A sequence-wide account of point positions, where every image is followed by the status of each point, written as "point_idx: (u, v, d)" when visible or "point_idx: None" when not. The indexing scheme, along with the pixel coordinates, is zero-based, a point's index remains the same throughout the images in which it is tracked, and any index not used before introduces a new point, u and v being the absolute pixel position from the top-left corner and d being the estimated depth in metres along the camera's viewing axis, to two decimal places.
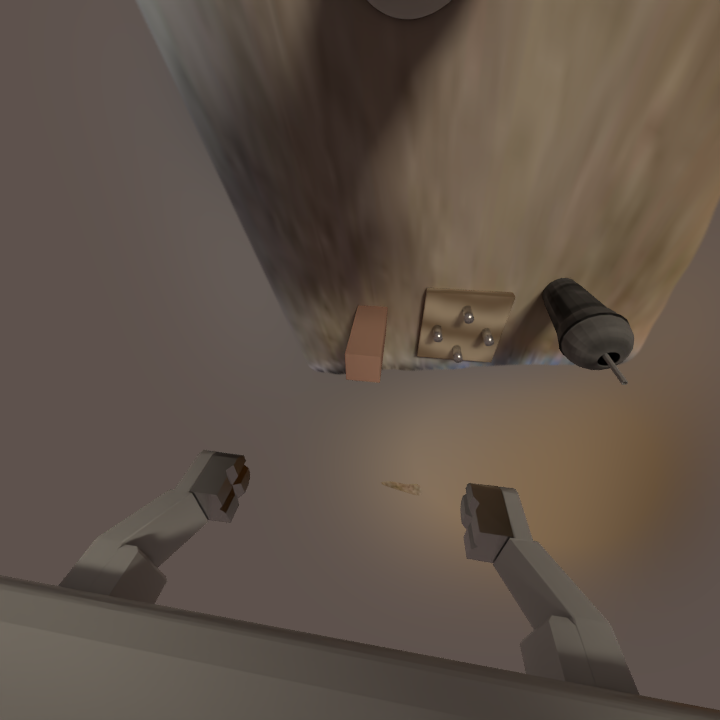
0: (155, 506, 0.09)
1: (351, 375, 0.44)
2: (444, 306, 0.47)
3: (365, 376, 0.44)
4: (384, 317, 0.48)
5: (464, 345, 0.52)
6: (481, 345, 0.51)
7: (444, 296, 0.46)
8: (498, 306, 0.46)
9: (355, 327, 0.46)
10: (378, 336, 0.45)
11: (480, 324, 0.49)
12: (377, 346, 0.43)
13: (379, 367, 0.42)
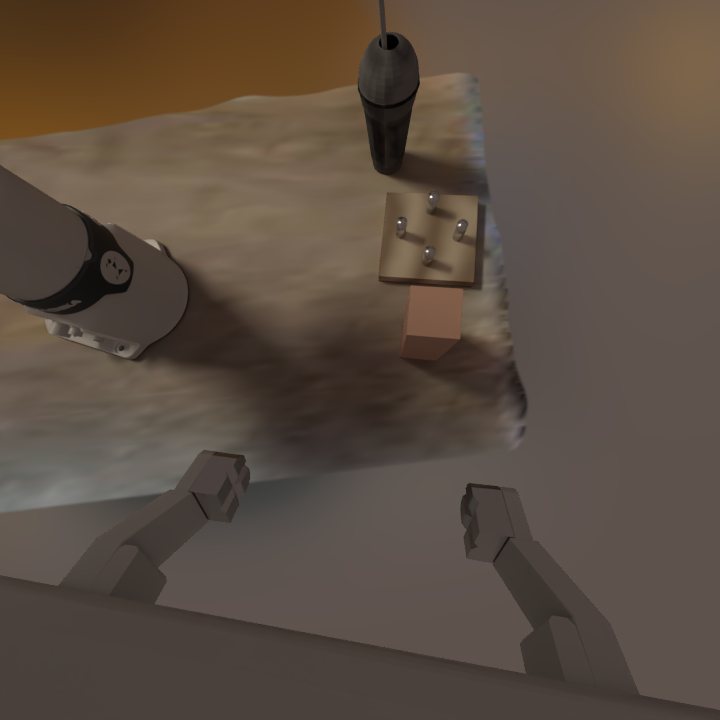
0: (155, 506, 0.09)
1: (450, 330, 0.28)
2: (397, 256, 0.42)
3: (451, 309, 0.29)
4: (404, 317, 0.39)
5: (452, 228, 0.42)
6: (451, 211, 0.43)
7: (384, 257, 0.42)
8: (397, 205, 0.44)
9: None
10: None
11: (421, 216, 0.43)
12: (408, 300, 0.32)
13: (431, 288, 0.29)
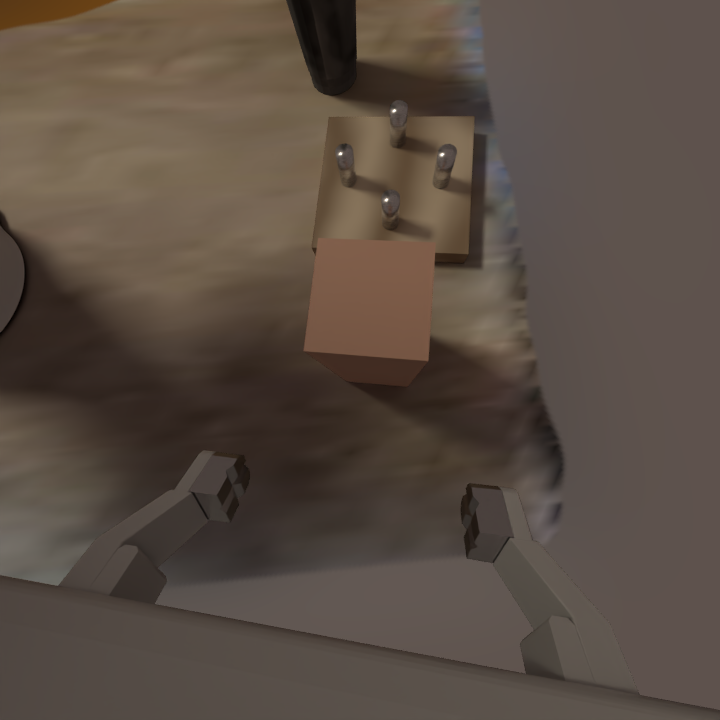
0: (155, 506, 0.09)
1: (405, 339, 0.12)
2: (342, 216, 0.26)
3: (407, 289, 0.12)
4: None
5: (432, 168, 0.26)
6: (431, 141, 0.26)
7: (321, 218, 0.26)
8: (345, 135, 0.27)
9: None
10: None
11: (382, 152, 0.27)
12: None
13: (363, 242, 0.13)
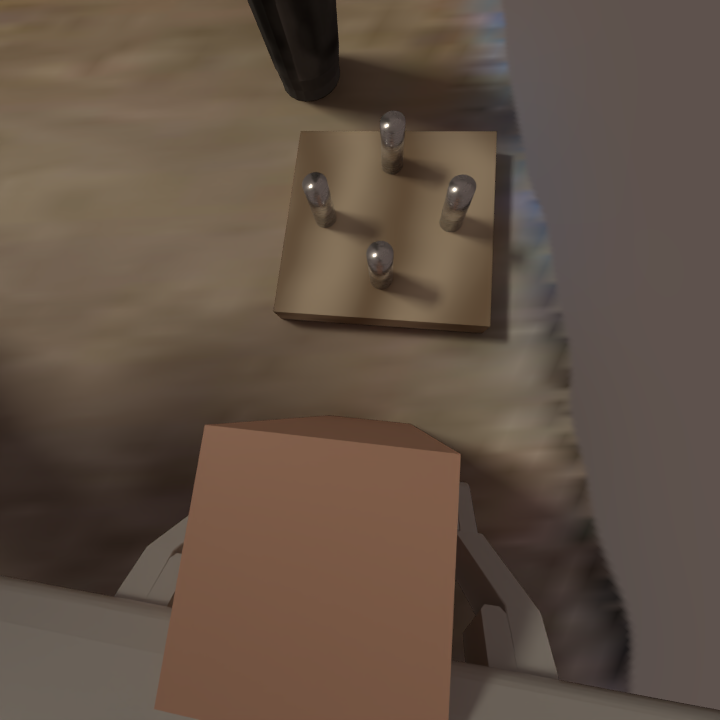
0: None
1: (389, 711, 0.05)
2: (316, 267, 0.19)
3: (395, 572, 0.05)
4: None
5: (439, 203, 0.19)
6: (437, 165, 0.19)
7: (288, 270, 0.19)
8: (321, 156, 0.20)
9: None
10: None
11: (371, 179, 0.20)
12: None
13: (300, 443, 0.06)
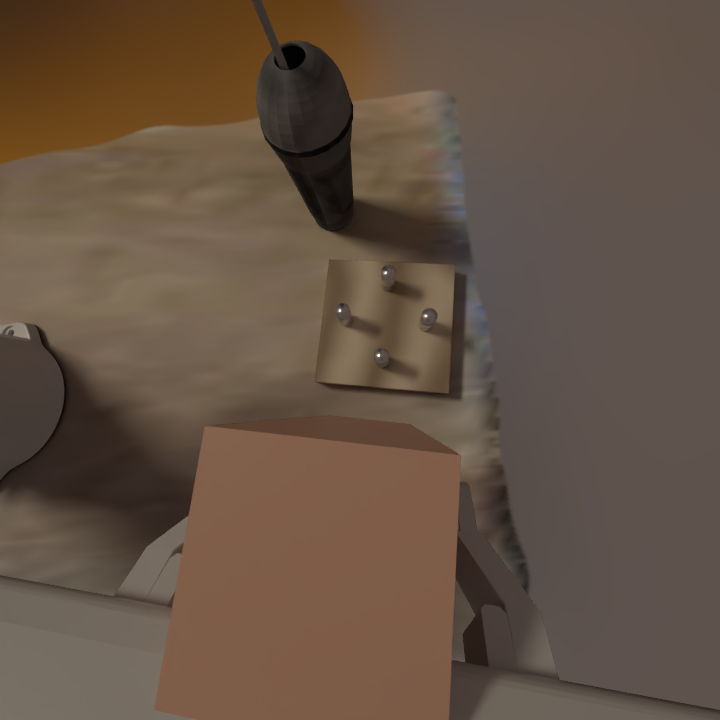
0: None
1: (389, 713, 0.05)
2: (341, 353, 0.30)
3: (396, 574, 0.05)
4: None
5: (418, 312, 0.30)
6: (417, 286, 0.30)
7: (323, 354, 0.30)
8: (343, 277, 0.31)
9: None
10: None
11: (375, 294, 0.31)
12: None
13: (299, 444, 0.06)
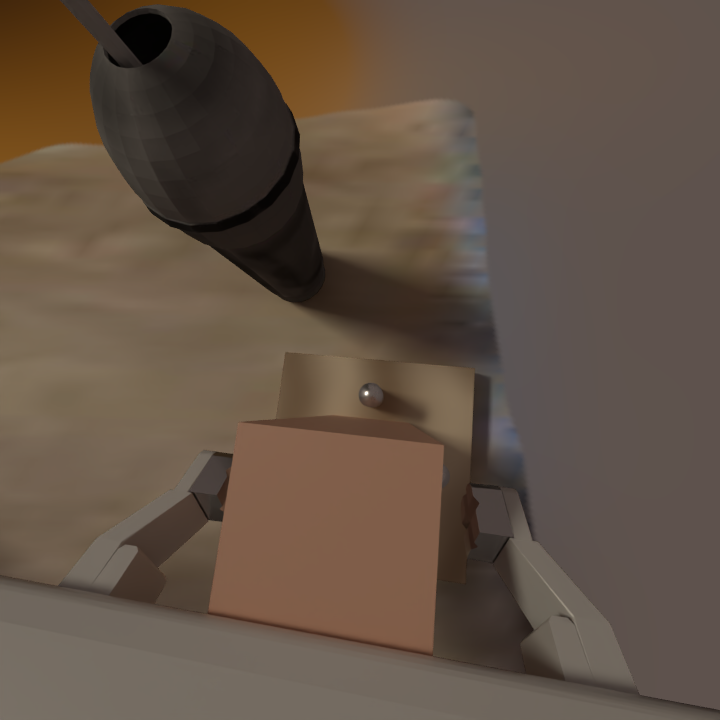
0: (155, 506, 0.09)
1: (387, 643, 0.06)
2: None
3: (392, 537, 0.07)
4: None
5: None
6: (417, 401, 0.20)
7: None
8: (305, 381, 0.21)
9: None
10: None
11: (353, 412, 0.20)
12: None
13: (315, 436, 0.07)
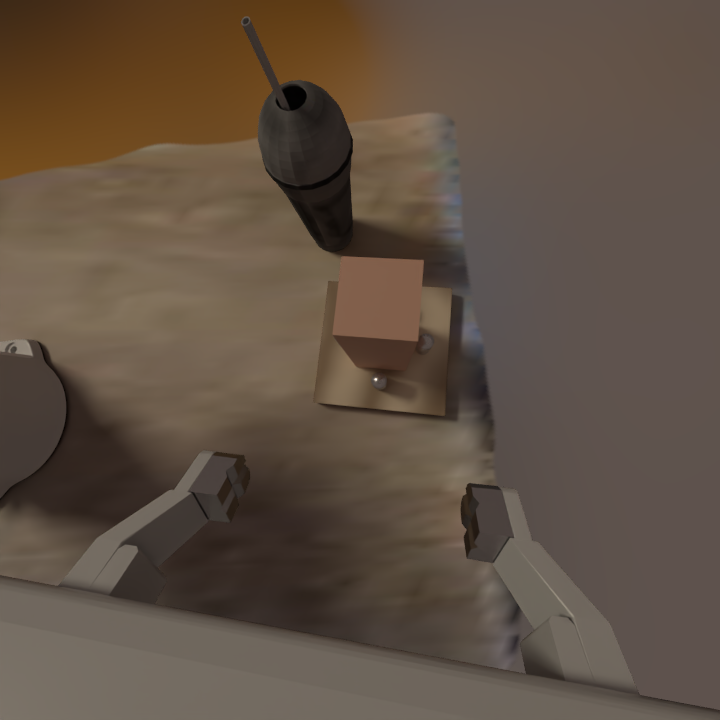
0: (155, 506, 0.09)
1: (402, 326, 0.17)
2: (339, 374, 0.30)
3: (404, 292, 0.18)
4: None
5: None
6: None
7: (322, 375, 0.31)
8: None
9: None
10: None
11: None
12: None
13: (373, 260, 0.18)
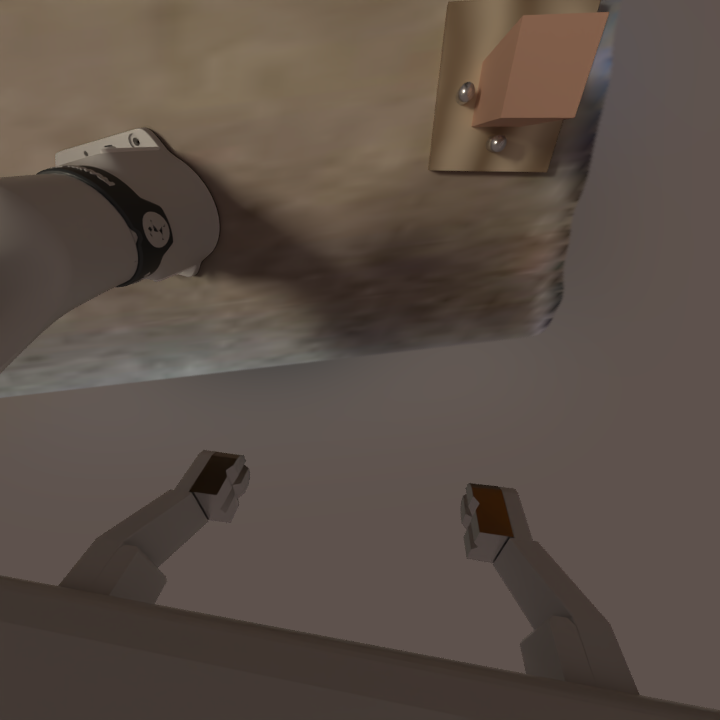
0: (155, 506, 0.09)
1: (564, 102, 0.21)
2: (454, 138, 0.33)
3: (576, 61, 0.20)
4: (488, 57, 0.27)
5: None
6: None
7: (437, 140, 0.33)
8: (463, 32, 0.28)
9: (484, 116, 0.27)
10: (501, 50, 0.23)
11: None
12: (510, 40, 0.21)
13: (555, 17, 0.19)
